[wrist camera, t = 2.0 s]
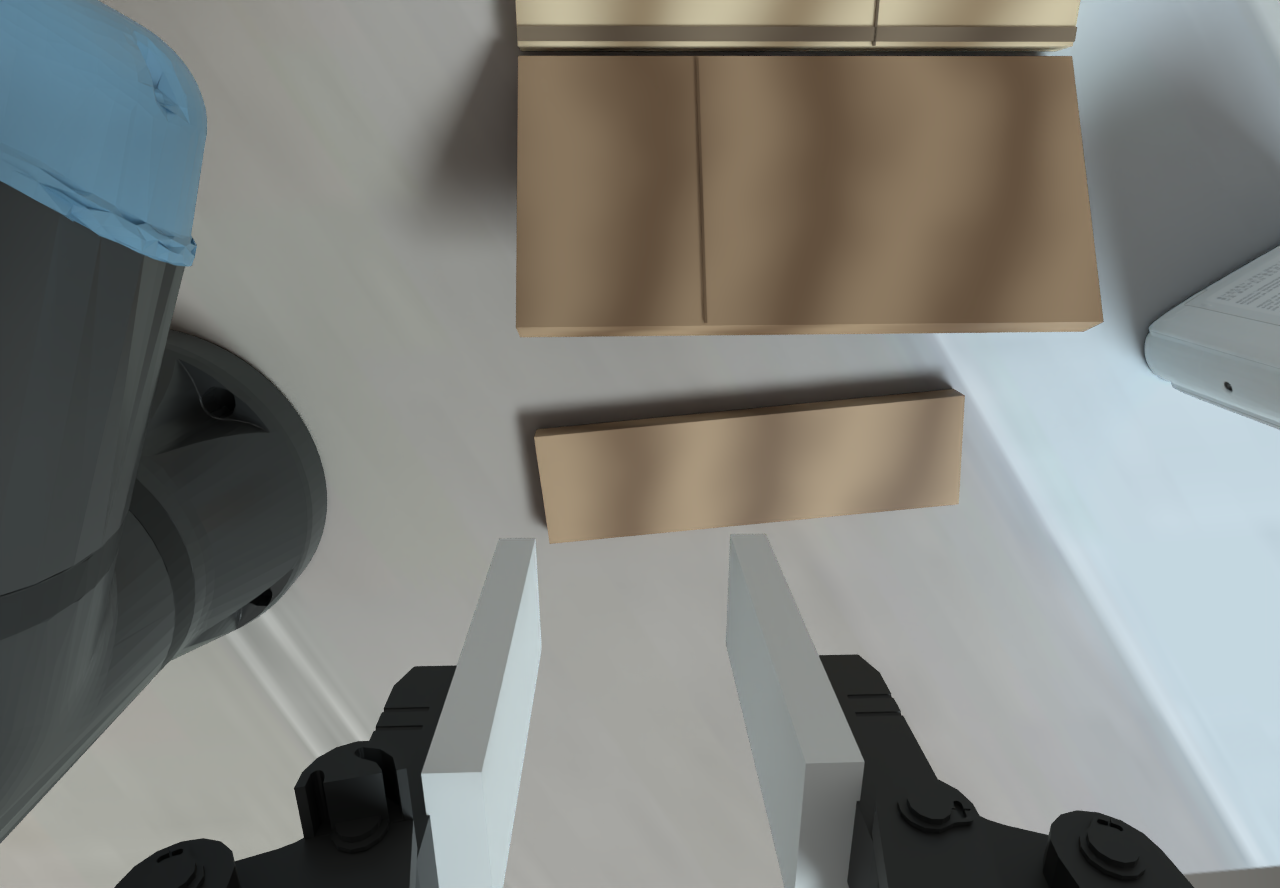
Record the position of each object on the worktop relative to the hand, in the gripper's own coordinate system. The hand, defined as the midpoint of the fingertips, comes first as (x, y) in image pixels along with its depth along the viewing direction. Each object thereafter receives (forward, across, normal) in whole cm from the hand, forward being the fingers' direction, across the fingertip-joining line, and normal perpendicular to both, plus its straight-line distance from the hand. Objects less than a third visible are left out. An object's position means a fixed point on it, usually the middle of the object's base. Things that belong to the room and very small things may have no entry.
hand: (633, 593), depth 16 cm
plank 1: (+17, +7, +8) cm, 20 cm away
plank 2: (+20, +6, -4) cm, 21 cm away
